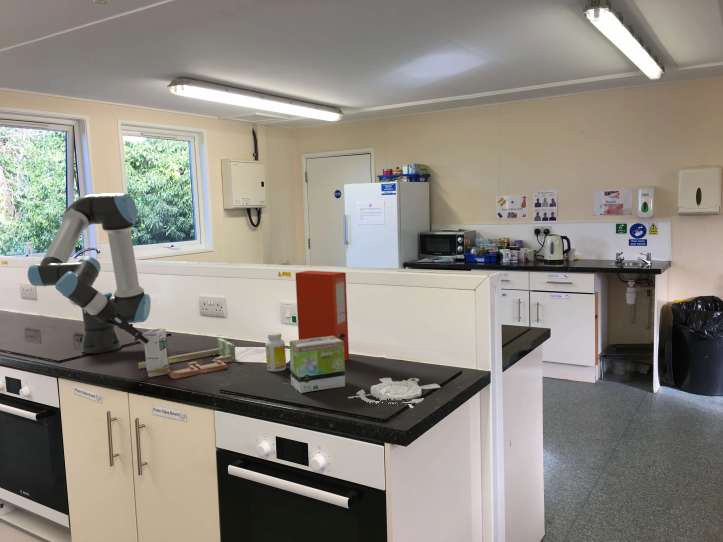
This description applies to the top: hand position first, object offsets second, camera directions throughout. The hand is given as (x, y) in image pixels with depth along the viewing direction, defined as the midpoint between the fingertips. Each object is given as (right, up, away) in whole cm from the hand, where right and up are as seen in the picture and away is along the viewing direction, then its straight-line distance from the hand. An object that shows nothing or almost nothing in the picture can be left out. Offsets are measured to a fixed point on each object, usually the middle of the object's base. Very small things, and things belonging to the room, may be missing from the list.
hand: (149, 343), depth 213 cm
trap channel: (+13, -9, +6) cm, 17 cm away
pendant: (+85, -11, -32) cm, 92 cm away
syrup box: (+2, -10, +3) cm, 11 cm away
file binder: (+61, -7, +9) cm, 62 cm away
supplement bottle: (+45, -9, -3) cm, 46 cm away
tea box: (+61, -11, -23) cm, 67 cm away
